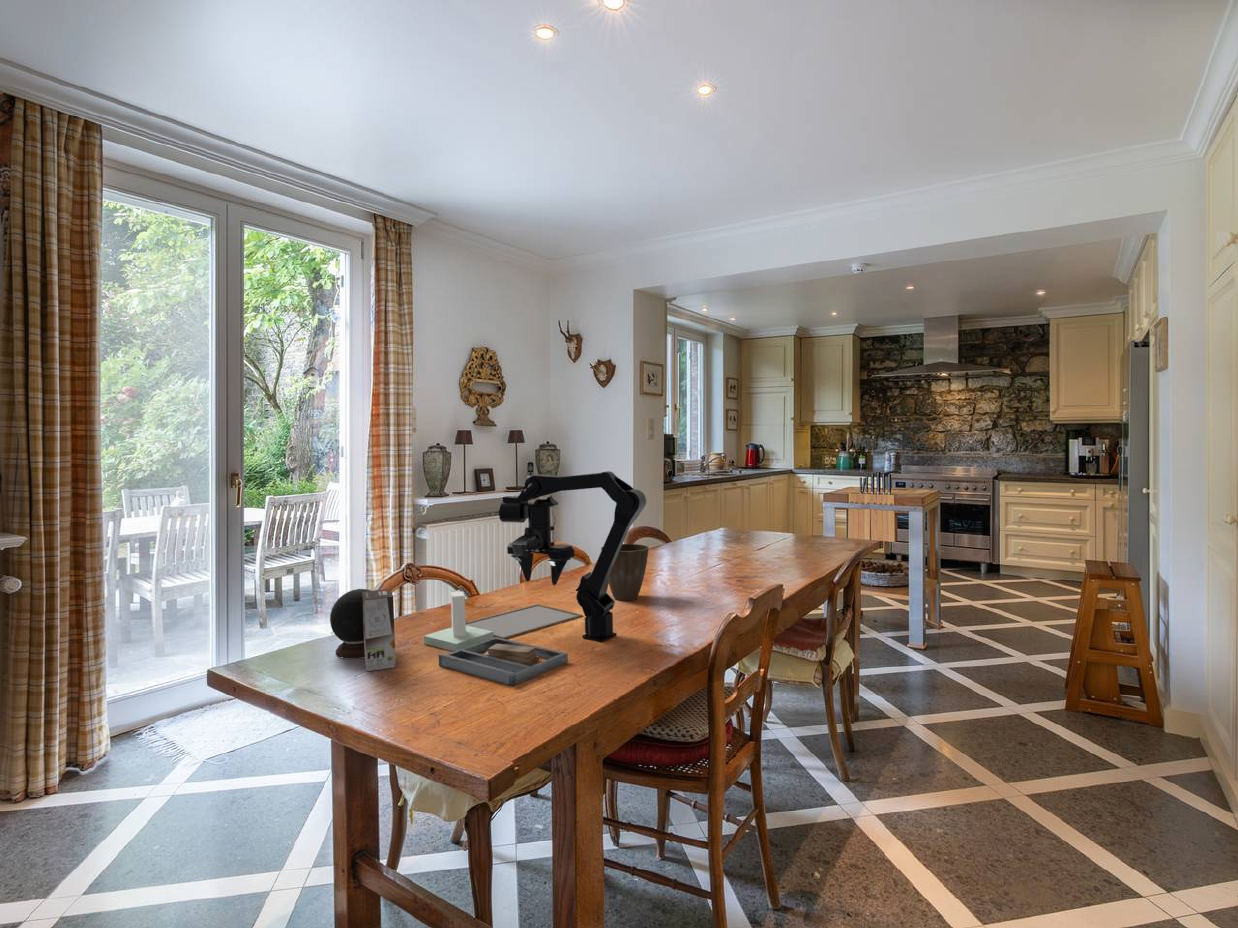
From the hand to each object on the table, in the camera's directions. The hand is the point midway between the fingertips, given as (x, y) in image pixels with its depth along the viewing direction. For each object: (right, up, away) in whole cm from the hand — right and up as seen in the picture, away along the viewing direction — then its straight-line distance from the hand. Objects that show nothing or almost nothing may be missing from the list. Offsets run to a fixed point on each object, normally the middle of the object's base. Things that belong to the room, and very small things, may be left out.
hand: (540, 582), depth 174 cm
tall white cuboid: (-20, -12, -6) cm, 24 cm away
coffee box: (-34, -15, -21) cm, 43 cm away
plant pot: (+22, -11, +36) cm, 44 cm away
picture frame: (-7, -13, +12) cm, 19 cm away
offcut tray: (-6, -14, -23) cm, 28 cm away
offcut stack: (-4, -14, -22) cm, 26 cm away
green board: (-20, -14, -6) cm, 25 cm away
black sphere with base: (-42, -15, -12) cm, 46 cm away
